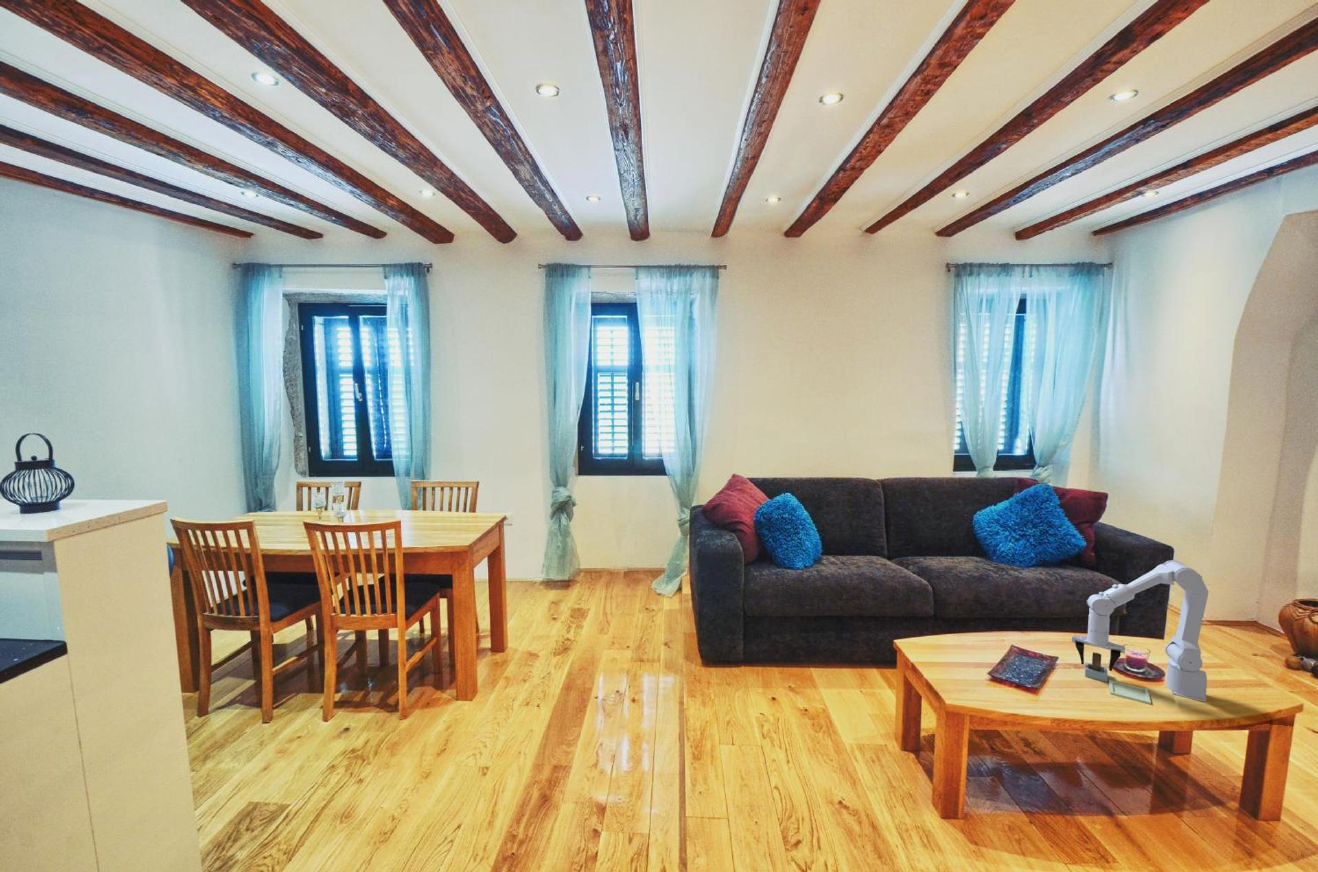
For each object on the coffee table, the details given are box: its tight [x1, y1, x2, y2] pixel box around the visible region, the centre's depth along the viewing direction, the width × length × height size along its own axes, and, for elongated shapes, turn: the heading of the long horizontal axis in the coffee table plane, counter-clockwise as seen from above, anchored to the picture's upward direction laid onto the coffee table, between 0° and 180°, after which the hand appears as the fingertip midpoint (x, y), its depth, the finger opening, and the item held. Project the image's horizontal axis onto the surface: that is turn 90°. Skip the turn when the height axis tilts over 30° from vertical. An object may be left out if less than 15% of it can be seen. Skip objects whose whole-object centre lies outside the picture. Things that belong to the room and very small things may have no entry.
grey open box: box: [1084, 661, 1109, 683], centre depth 189 cm, size 6×6×3 cm
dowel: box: [1091, 652, 1102, 671], centre depth 189 cm, size 2×2×8 cm
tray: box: [1108, 679, 1152, 705], centre depth 179 cm, size 10×10×1 cm
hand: (1096, 666), depth 189 cm, fingers open, 7 cm apart
